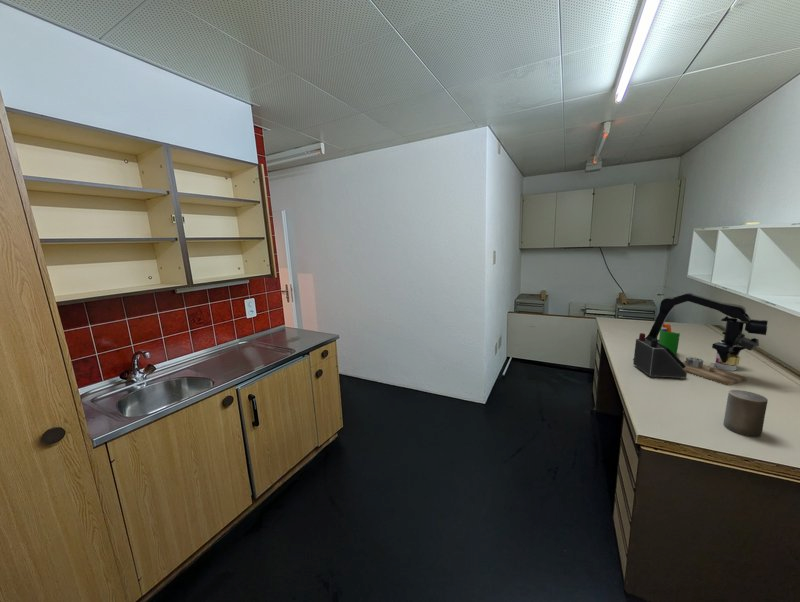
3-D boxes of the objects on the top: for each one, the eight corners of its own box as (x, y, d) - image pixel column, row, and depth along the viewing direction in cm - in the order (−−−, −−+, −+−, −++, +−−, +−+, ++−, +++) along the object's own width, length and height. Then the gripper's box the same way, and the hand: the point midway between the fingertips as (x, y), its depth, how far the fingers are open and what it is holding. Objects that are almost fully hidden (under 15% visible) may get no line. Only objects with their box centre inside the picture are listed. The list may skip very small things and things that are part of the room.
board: (727, 385, 148) (729, 373, 147) (669, 367, 170) (671, 357, 169) (746, 379, 153) (748, 368, 152) (688, 363, 176) (689, 353, 175)
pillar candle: (768, 439, 108) (776, 400, 106) (732, 434, 112) (739, 395, 109) (750, 424, 117) (757, 388, 115) (716, 420, 121) (722, 384, 118)
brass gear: (735, 366, 148) (736, 358, 147) (716, 362, 154) (717, 354, 153) (740, 363, 151) (741, 355, 150) (721, 359, 157) (722, 352, 156)
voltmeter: (686, 380, 155) (692, 342, 151) (649, 378, 158) (654, 341, 155) (666, 367, 170) (670, 333, 167) (632, 366, 174) (636, 332, 170)
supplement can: (718, 369, 166) (722, 343, 163) (712, 364, 173) (716, 338, 170) (739, 372, 162) (744, 345, 159) (732, 366, 169) (736, 340, 166)
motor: (681, 358, 182) (686, 326, 179) (666, 359, 183) (670, 326, 179) (667, 352, 192) (671, 321, 189) (652, 353, 192) (656, 322, 189)
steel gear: (697, 369, 163) (698, 362, 163) (682, 365, 169) (683, 358, 169) (705, 367, 165) (706, 360, 165) (690, 363, 172) (691, 356, 171)
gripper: (745, 337, 139) (739, 370, 142) (768, 332, 145) (762, 364, 148) (713, 331, 149) (709, 362, 152) (736, 327, 155) (731, 356, 158)
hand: (728, 361), depth 152 cm, fingers closed on brass gear, 7 cm apart
